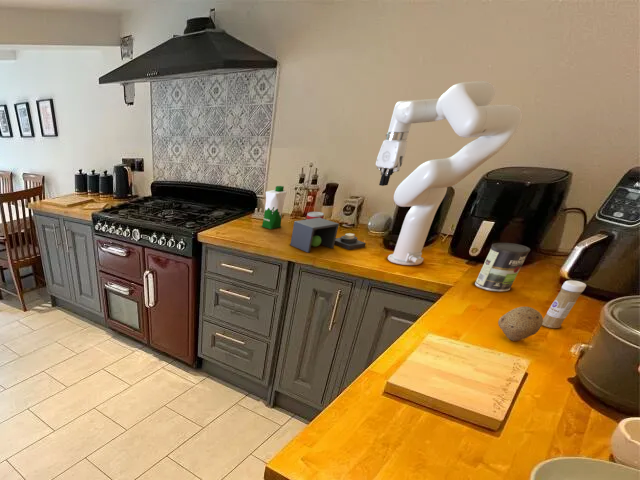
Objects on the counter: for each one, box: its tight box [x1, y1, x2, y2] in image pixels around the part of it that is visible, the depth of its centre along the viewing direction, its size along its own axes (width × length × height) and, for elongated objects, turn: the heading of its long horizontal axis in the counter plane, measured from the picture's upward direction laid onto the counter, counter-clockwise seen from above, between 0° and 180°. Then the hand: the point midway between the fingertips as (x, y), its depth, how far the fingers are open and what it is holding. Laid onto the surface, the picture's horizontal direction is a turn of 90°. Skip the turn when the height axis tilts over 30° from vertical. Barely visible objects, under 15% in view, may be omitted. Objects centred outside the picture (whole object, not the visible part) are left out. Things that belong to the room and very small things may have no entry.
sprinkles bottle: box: [542, 279, 587, 329], centre depth 119 cm, size 5×5×13 cm
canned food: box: [305, 211, 325, 220], centre depth 204 cm, size 8×8×11 cm
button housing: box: [334, 235, 366, 251], centre depth 192 cm, size 12×9×4 cm
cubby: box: [289, 218, 340, 253], centre depth 191 cm, size 13×14×11 cm
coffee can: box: [474, 242, 531, 293], centre depth 144 cm, size 10×10×14 cm
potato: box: [497, 306, 544, 342], centre depth 115 cm, size 9×9×10 cm
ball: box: [311, 236, 321, 248], centre depth 193 cm, size 5×5×5 cm
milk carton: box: [261, 185, 288, 230], centre depth 219 cm, size 9×9×20 cm
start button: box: [344, 232, 356, 239], centre depth 191 cm, size 4×4×2 cm
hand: (383, 185), depth 180 cm, fingers closed
